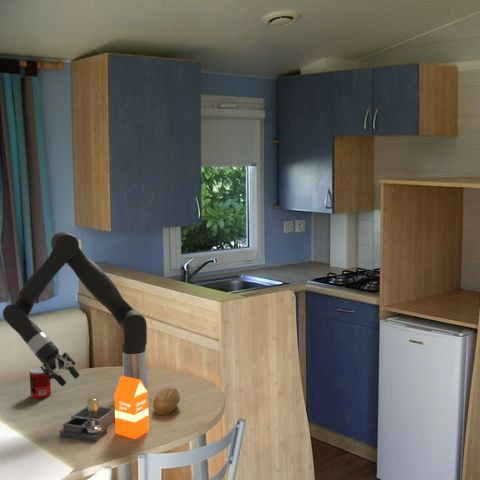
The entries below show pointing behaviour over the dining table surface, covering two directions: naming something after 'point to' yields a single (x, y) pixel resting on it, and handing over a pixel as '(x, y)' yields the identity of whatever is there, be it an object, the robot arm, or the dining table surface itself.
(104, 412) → the tray
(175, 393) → the bread roll
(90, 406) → the cylinder
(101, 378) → the dining table surface
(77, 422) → the crank housing
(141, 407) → the orange juice
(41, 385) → the canned food
